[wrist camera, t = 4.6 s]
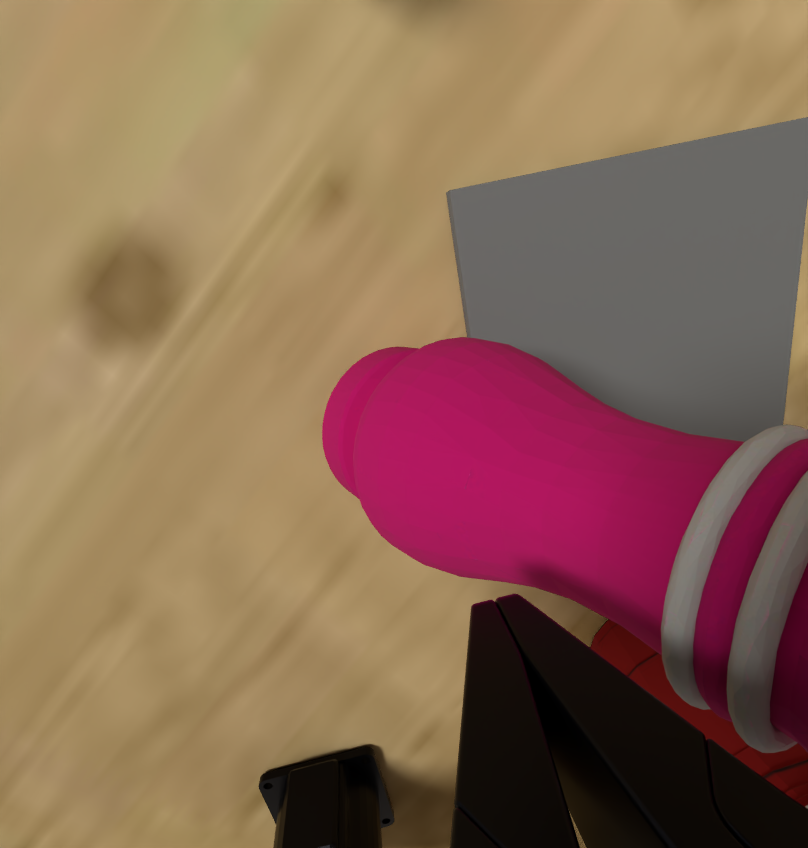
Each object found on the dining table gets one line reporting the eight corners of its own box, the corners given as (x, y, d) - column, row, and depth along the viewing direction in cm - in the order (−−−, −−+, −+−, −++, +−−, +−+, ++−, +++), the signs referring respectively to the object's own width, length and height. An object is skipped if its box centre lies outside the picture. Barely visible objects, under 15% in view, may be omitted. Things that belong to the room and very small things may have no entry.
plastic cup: (745, 549, 24) (1092, 796, 13) (708, 698, 28) (954, 992, 17) (550, 572, 23) (742, 862, 12) (538, 723, 27) (677, 1056, 16)
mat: (765, 484, 23) (776, 490, 22) (498, 549, 22) (502, 556, 22) (801, 120, 17) (816, 115, 17) (446, 192, 17) (449, 190, 16)
